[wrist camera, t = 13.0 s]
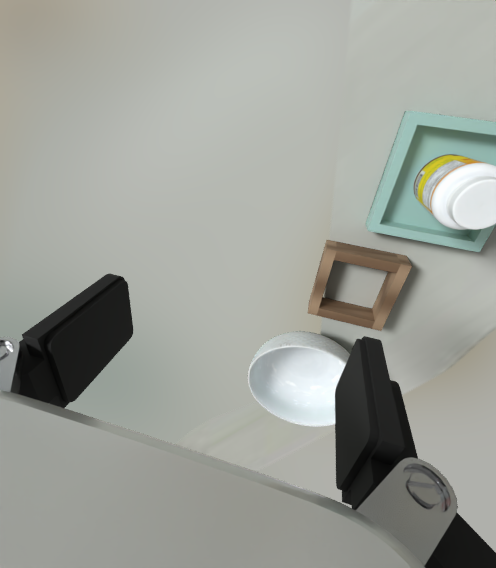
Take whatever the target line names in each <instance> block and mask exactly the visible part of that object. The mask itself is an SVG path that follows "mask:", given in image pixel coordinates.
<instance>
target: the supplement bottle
mask: <svg viewBox="0 0 496 568" xmlns="http://www.w3.org/2000/svg"><path fill="white" fill-rule="evenodd" d="M413 191H414V195H415V197H416V199H417V200H418V202H419V203H420V204H421V205H422V206H423V207H424V208H426V209H427V210H428V211H429V212H430V213H431V214H432V215H433V216H434V217H435V218H436V219H437V220H438V221H439V222H440V223H441V224H443V225H444V226H446V227H449V228H452V229H458V230H465V229H472V230H478V229H484V228H487V227H490V226H492V225H494V224H496V166H494V165H491V164H488V163H485V162H481V161H477V160H474V159H471V158H467V157H464V156H460V155H455V154H446V155H442V156H438V157H436V158H434V159H432V160H430V161H429V162H427V163H426V164H425V165H424V166H423V167H422V168H421V169H420V171H419V172H418V174H417V175H416V178H415V180H414V185H413Z"/></svg>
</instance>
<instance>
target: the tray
mask: <svg viewBox="0 0 496 568" xmlns="http://www.w3.org/2000/svg"><path fill="white" fill-rule="evenodd" d="M446 154H455V155H460V156H464V157H467V158H471V159H474V160H477V161H481V162H485V163H488V164H491V165H494V166H496V122H491V121H483V120H476V119H468V118H460V117H453V116H445V115H438V114H430V113H423V112H415V111H405V113H404V116H403V119H402V121H401V124H400V127H399V130H398V133H397V136H396V139H395V141H394V144H393V147H392V150H391V153H390V156H389V158H388V161H387V164H386V167H385V170H384V173H383V176H382V178H381V181H380V184H379V187H378V190H377V193H376V196H375V198H374V201H373V204H372V207H371V210H370V213H369V216H368V218H367V221H366V227H367V230H368V231H372V232H377V233H382V234H387V235H392V236H397V237H403V238H408V239H413V240H418V241H423V242H428V243H434V244H439V245H444V246H449V247H454V248H459V249H465V250H470V251H475V252H480V251H481V249H482V247H483V246H484V244H485V242H486V241H487V239H488V237H489V236H490V234H491V232H492V231H493V229H494V227H495V226H496V224H494V225H492V226H490V227H487V228H484V229H478V230H472V229H465V230H458V229H452V228H449V227H446V226H444V225H443V224H441V223H440V222H439V221H438V220H437V219H436V218H435V217H434V216H433V215H432V214H431V213H430V212H429V211H428V210H427V209H426V208H424V207H423V206H422V205H421V204H420V203H419V202H418V200H417V199H416V197H415V195H414V191H413V185H414V180H415V178H416V175H417V174H418V172H419V171H420V169H421V168H422V167H423V166H424V165H425V164H426V163H427V162H429V161H430V160H432V159H434V158H436V157H438V156H442V155H446Z"/></svg>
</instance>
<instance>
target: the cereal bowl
mask: <svg viewBox="0 0 496 568" xmlns="http://www.w3.org/2000/svg"><path fill="white" fill-rule="evenodd" d="M349 356H350V354H349V353H348V352H347V351H346V349H344V348H343V347H342V346H341V345H339V344H338V343H337V342H335V341H333V340H331V339H330V338H328V337H325V336H322V335H319V334H316V333H311V332H304V331H303V332H302V331H299V332H298V331H296V332H290V333H284V334H281V335H278V336H276V337H274V338H272V339H270V340H268V341H267V342H266V343H265V344H264V345H263V346H262V347H261V348H260V349H259V350H258V352H257V353H256V355H255V356H254V358H253V361H252V362H251V365H250V368H249V372H248V384H249V388H250V390H251V392H252V394H253V396H254V397H255V399H256V400H257V401H258V402H259V403H260V405H261V406H263V407H264V408H265V409H266V410H267V411H269V412H270V413H272V414H273V415H275V416H277V417H279V418H281V419H283V420H286V421H288V422H291V423H295V424H299V425H304V426H328V425H333V424H335V390H336V386H337V384H338V381H339V379H340V377H341V374H342V372H343V370H344V367H345V365H346V363H347V360H348V358H349Z"/></svg>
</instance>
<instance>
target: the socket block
mask: <svg viewBox="0 0 496 568" xmlns="http://www.w3.org/2000/svg"><path fill="white" fill-rule="evenodd" d="M334 260H337V261H341V262H346V263H351V264H355V265H360V266H365V267H370V268H374V269H379V270H384V271H388V274H387V276H386V278H385V280H384V283H383V285H382V287H381V290H380V292H379V294H378V297H377V299H376V301H375V303H374V306H373V308H372V309H371V308H366V307H362V306H358V305H353V304H349V303H345V302H340V301H336V300H332V299H327V298H323V293H324V290H325V287H326V284H327V280H328V277H329V274H330V271H331V268H332V264H333V261H334ZM411 268H412V265H411V264H410V262H409V260H408V258H407V256H404V255H399V254H395V253H390V252H385V251H380V250H375V249H370V248H365V247H360V246H355V245H350V244H345V243H340V242H335V241H330V240H327V241H326V244H325V247H324V251H323V254H322V258H321V261H320V265H319V269H318V272H317V276H316V279H315V283H314V286H313V290H312V293H311V297H310V300H309V307H308V313H309V314H313V315H318V316H322V317H326V318H330V319H334V320H338V321H342V322H346V323H351V324H355V325H359V326H363V327H367V328H371V329H375V330H380V331H381V330H382V328H383V326H384V324H385V322H386V320H387V318H388V315H389V313H390V311H391V309H392V307H393V305H394V303H395V301H396V299H397V297H398V295H399V293H400V290H401V288H402V286H403V284H404V282H405V280H406V278H407V276H408V274H409V272H410V270H411Z"/></svg>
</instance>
